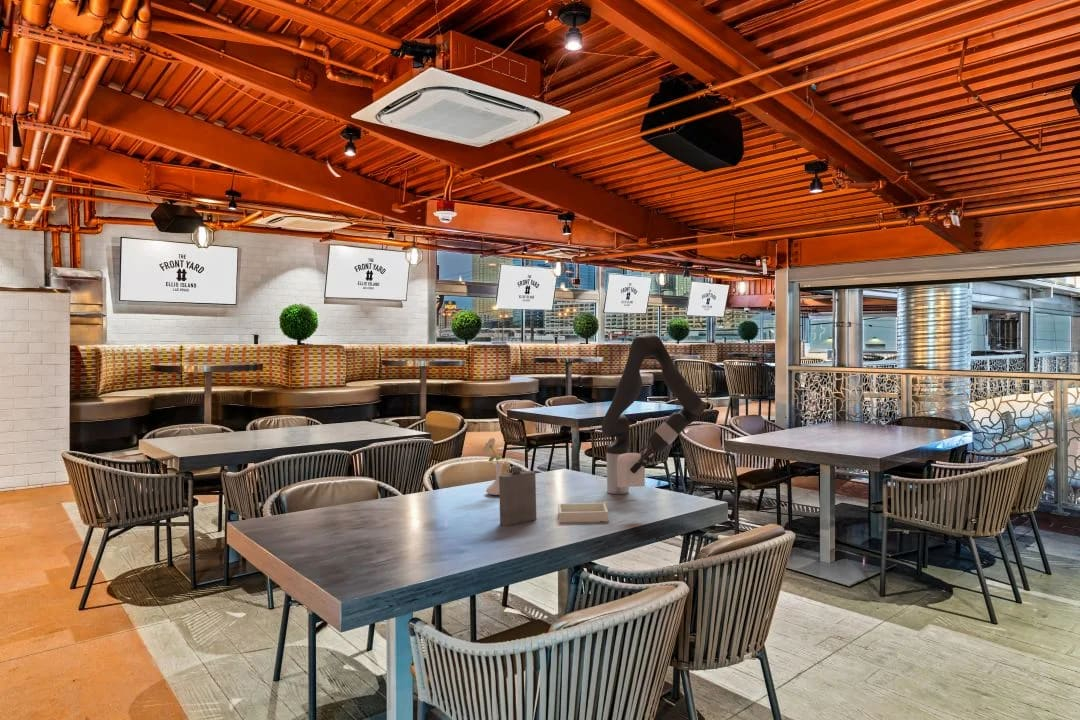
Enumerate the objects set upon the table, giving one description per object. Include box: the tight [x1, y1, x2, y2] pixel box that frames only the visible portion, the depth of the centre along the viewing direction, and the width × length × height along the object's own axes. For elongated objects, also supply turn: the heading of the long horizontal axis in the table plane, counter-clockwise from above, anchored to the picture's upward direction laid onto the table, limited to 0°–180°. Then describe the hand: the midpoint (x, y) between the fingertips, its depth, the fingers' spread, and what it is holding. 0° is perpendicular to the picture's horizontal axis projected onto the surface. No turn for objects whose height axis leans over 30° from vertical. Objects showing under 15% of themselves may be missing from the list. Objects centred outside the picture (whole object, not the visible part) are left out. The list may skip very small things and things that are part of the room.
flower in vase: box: [482, 437, 505, 496], centre depth 283 cm, size 13×11×25 cm
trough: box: [557, 502, 609, 523], centre depth 243 cm, size 14×18×4 cm
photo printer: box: [617, 452, 645, 488], centre depth 243 cm, size 10×4×12 cm, turn 98°
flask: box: [498, 465, 537, 527], centre depth 239 cm, size 15×6×20 cm, turn 126°
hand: (631, 470), depth 243 cm, fingers closed on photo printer, 4 cm apart
